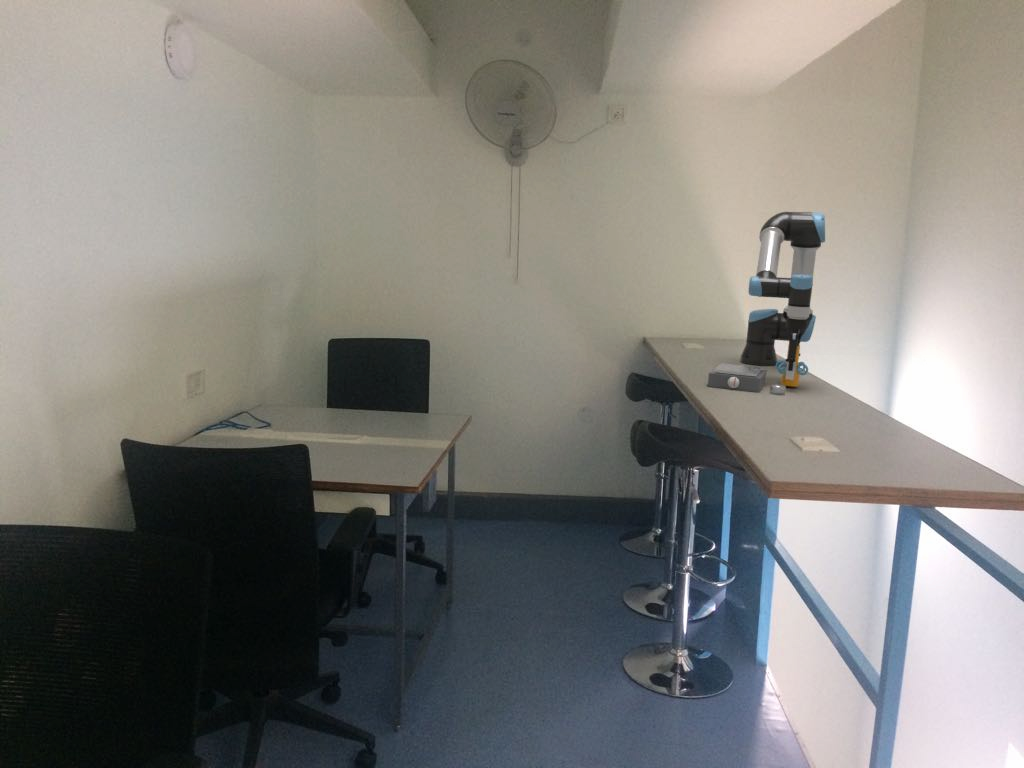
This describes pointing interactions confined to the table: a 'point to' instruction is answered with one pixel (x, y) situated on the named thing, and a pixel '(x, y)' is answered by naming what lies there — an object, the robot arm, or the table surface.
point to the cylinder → (796, 373)
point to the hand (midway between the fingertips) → (790, 376)
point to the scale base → (737, 381)
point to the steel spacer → (777, 389)
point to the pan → (738, 369)
